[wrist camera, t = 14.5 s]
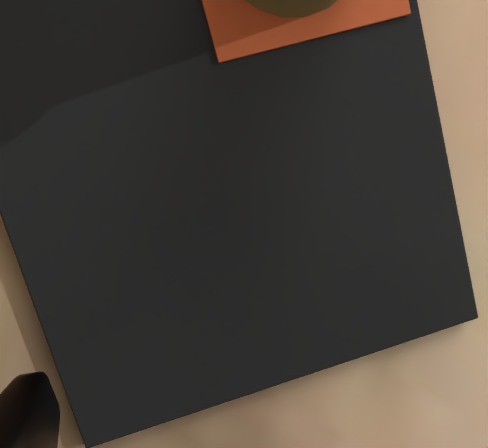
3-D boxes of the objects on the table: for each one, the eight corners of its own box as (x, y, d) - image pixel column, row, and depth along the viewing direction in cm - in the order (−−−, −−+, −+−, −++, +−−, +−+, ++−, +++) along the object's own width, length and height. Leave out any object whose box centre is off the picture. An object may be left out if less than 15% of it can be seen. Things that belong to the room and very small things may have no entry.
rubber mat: (468, 312, 22) (482, 319, 21) (89, 438, 20) (84, 452, 19) (366, -205, 18) (377, -226, 17) (-110, -111, 16) (-128, -128, 15)
